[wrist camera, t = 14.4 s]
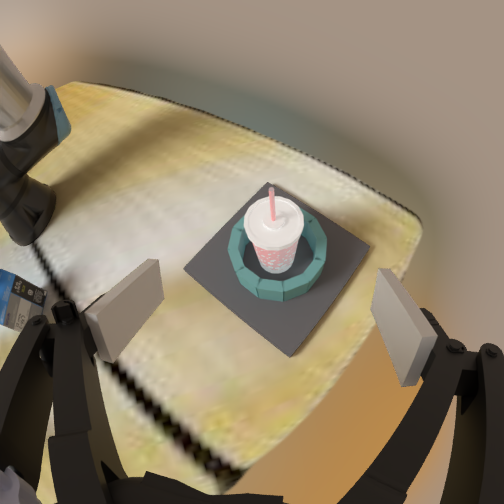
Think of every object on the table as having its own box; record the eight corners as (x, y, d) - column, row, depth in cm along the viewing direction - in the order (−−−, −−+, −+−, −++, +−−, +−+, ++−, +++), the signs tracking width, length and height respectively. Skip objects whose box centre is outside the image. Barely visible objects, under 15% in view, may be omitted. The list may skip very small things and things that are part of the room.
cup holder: (185, 271, 37) (172, 256, 33) (267, 186, 42) (265, 164, 37) (289, 357, 31) (291, 354, 26) (368, 249, 36) (378, 231, 31)
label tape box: (37, 338, 35) (-14, 319, 24) (26, 333, 35) (-23, 313, 24) (48, 292, 38) (0, 264, 27) (36, 288, 39) (-9, 262, 28)
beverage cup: (294, 283, 34) (301, 225, 21) (247, 274, 35) (226, 213, 22) (303, 240, 36) (311, 168, 24) (259, 232, 37) (246, 160, 25)
